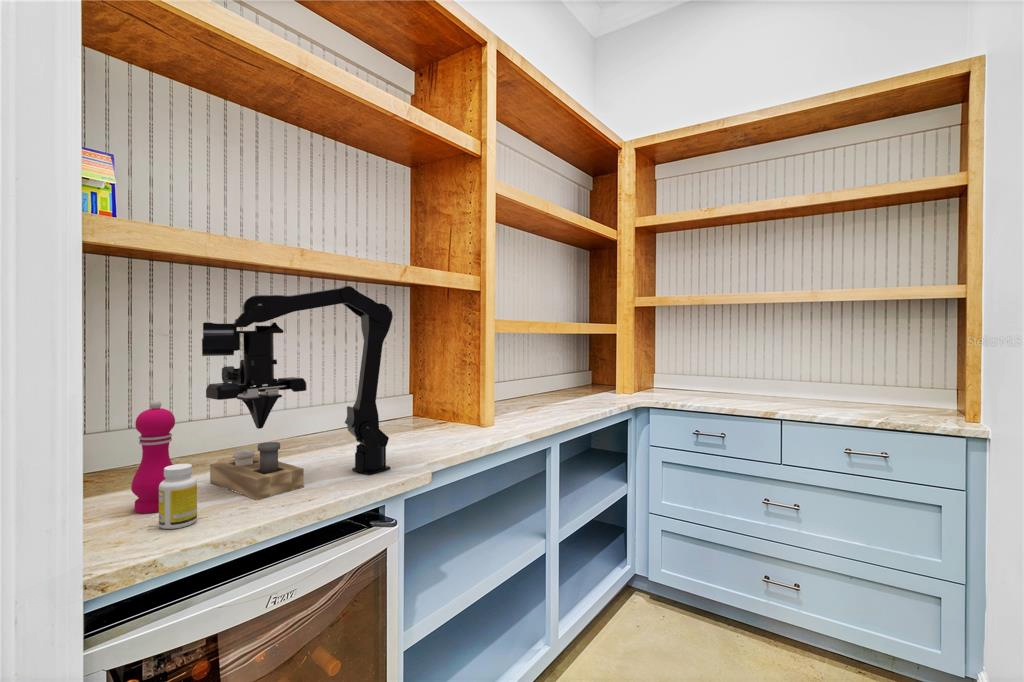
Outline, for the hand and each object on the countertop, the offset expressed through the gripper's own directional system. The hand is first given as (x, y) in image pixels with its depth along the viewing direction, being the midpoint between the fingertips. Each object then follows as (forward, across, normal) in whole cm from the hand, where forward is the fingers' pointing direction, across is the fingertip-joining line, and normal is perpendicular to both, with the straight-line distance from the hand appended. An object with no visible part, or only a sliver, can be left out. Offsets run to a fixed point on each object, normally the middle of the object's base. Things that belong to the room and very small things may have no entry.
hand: (259, 428), depth 106 cm
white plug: (+11, 0, -6) cm, 13 cm away
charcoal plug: (+9, 0, +4) cm, 10 cm away
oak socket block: (+12, 0, -1) cm, 12 cm away
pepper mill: (+12, +18, -2) cm, 22 cm away
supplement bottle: (+12, +19, +10) cm, 25 cm away
